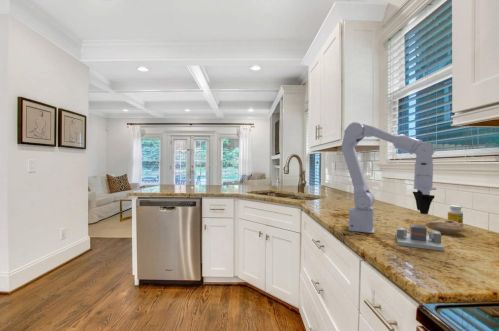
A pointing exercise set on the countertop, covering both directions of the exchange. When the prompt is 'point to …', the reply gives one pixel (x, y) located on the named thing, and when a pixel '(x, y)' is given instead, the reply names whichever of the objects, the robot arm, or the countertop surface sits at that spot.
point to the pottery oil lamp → (446, 226)
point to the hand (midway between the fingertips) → (422, 212)
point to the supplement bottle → (455, 214)
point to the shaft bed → (431, 241)
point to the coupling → (418, 232)
